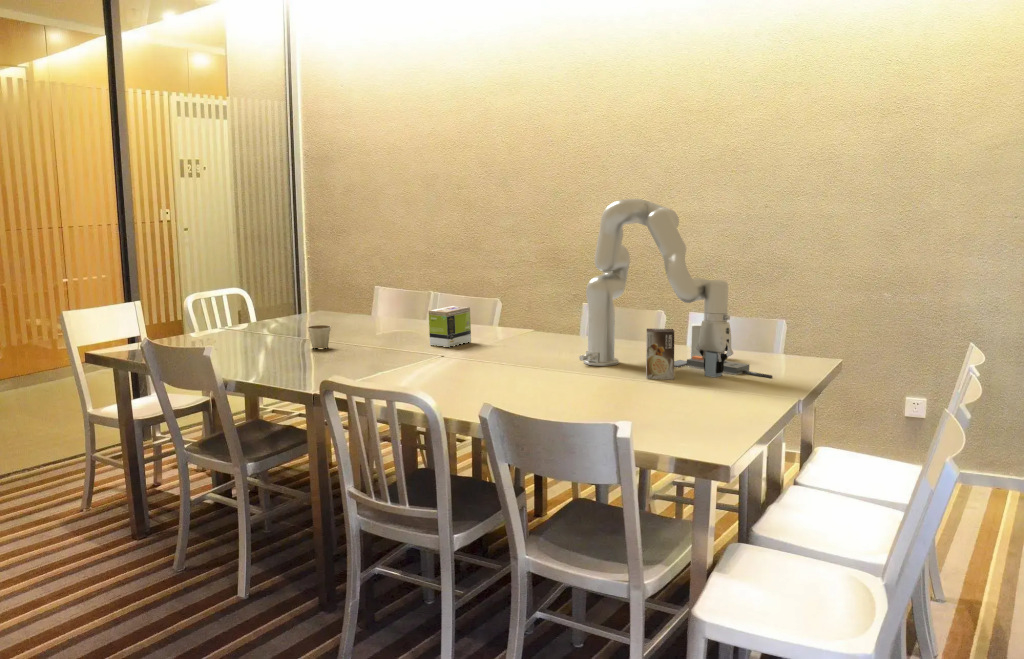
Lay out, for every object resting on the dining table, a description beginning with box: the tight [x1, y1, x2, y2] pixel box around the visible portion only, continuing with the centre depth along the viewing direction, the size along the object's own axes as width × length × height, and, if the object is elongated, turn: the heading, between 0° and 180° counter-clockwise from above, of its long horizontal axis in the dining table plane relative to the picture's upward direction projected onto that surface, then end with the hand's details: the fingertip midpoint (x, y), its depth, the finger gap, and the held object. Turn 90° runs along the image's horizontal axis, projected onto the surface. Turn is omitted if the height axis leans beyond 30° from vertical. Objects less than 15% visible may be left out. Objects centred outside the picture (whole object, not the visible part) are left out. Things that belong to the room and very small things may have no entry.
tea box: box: [428, 305, 472, 348], centre depth 341 cm, size 15×10×15 cm
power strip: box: [686, 356, 773, 379], centre depth 289 cm, size 8×31×3 cm, turn 43°
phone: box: [674, 359, 687, 368], centre depth 301 cm, size 10×6×1 cm, turn 134°
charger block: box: [704, 351, 723, 378], centre depth 282 cm, size 4×4×8 cm
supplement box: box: [690, 322, 702, 359], centre depth 311 cm, size 7×7×13 cm
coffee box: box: [645, 328, 675, 380], centre depth 279 cm, size 9×6×16 cm
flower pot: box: [306, 324, 332, 349], centre depth 334 cm, size 9×9×9 cm
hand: (713, 371), depth 283 cm, fingers closed on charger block, 4 cm apart
